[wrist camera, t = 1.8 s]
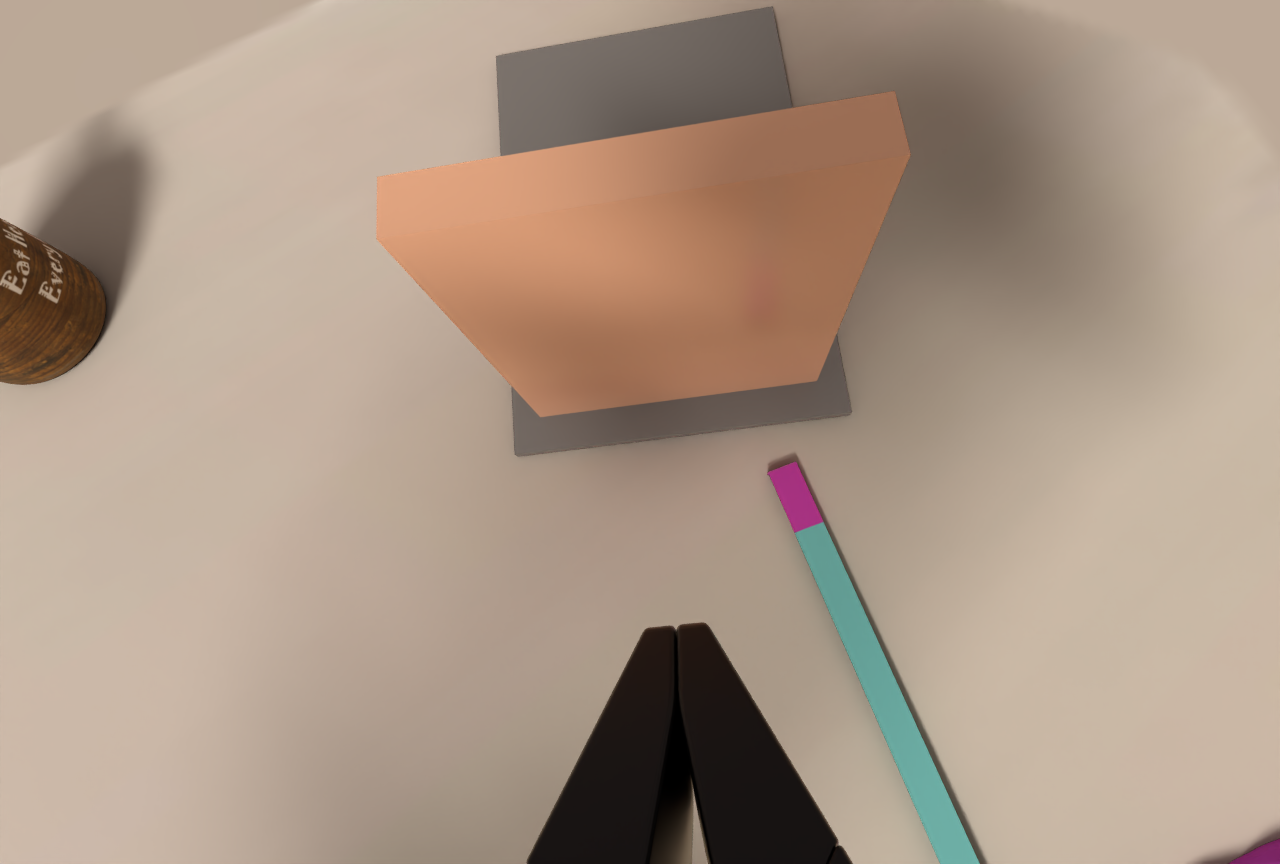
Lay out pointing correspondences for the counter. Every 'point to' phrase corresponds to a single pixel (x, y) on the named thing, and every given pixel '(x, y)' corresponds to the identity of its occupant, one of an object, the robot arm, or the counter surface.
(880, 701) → the squeegee
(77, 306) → the utensil holder
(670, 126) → the rubber mat
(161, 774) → the counter surface
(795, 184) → the ceramic tile
